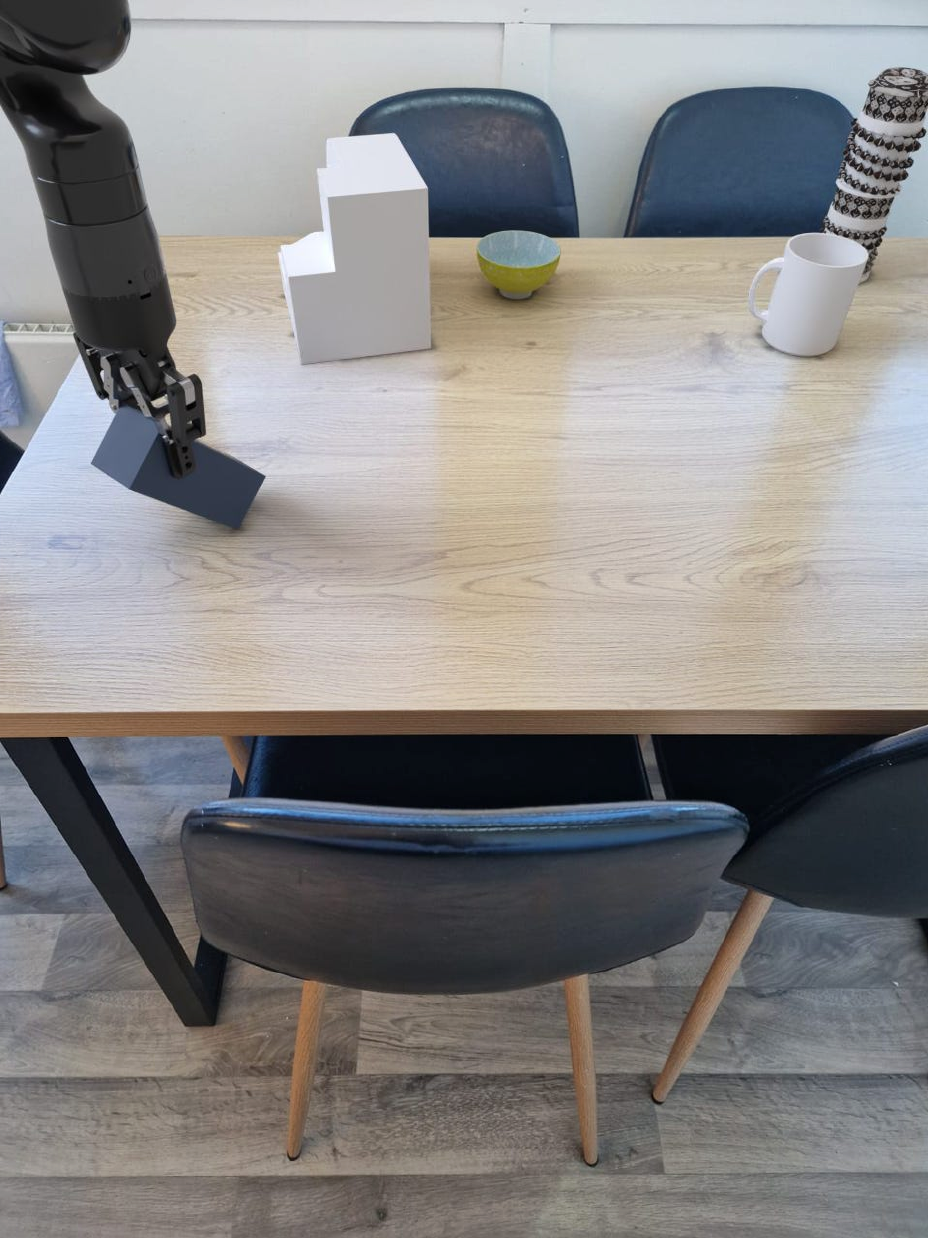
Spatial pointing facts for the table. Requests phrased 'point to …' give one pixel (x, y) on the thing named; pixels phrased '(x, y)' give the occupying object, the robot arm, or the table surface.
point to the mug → (810, 293)
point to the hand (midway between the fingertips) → (162, 459)
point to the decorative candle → (878, 158)
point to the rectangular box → (142, 467)
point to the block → (362, 256)
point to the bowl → (518, 261)
